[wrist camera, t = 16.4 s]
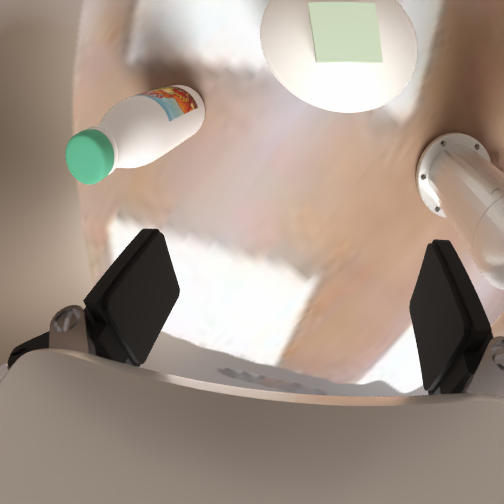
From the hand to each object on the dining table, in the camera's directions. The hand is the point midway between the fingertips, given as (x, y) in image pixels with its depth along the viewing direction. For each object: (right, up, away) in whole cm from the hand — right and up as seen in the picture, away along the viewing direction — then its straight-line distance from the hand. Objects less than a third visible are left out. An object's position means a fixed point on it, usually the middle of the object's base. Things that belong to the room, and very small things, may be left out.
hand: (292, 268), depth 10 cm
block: (+7, +20, +11) cm, 24 cm away
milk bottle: (-11, +20, +26) cm, 34 cm away
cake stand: (+8, +25, +17) cm, 31 cm away
